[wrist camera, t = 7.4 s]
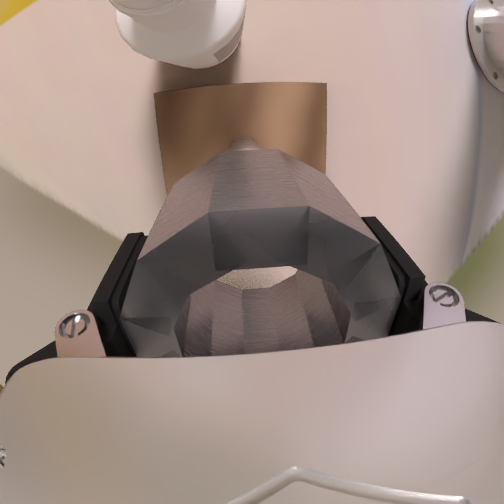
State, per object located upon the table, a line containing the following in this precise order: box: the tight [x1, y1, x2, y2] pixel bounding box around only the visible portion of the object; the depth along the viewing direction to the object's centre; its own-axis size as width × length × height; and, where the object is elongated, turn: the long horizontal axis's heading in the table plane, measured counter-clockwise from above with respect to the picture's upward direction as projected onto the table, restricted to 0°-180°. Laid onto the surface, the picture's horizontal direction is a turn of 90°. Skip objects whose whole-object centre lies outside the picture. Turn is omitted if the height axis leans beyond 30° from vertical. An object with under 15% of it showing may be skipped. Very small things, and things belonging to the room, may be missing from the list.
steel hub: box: [120, 149, 401, 357], centre depth 10 cm, size 7×7×5 cm
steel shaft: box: [226, 137, 262, 152], centre depth 22 cm, size 3×3×7 cm
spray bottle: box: [109, 0, 246, 69], centre depth 13 cm, size 7×7×18 cm
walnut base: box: [154, 82, 327, 196], centre depth 25 cm, size 14×12×2 cm
